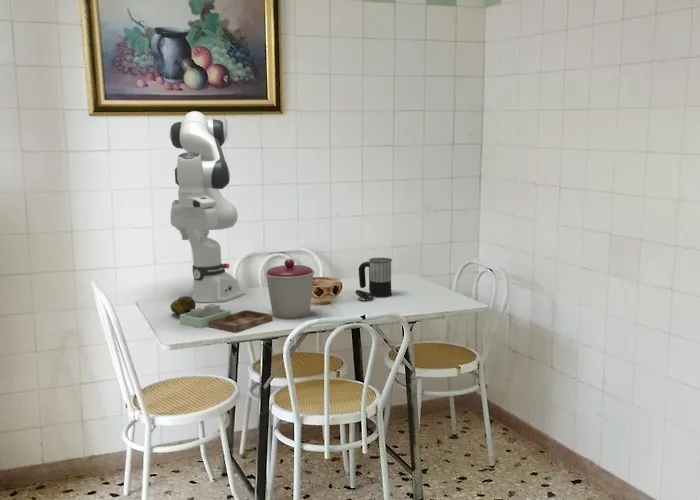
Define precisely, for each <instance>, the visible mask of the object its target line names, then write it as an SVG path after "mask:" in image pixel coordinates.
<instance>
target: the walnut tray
mask: <svg viewBox="0 0 700 500" xmlns="http://www.w3.org/2000/svg"><path fill="white" fill-rule="evenodd" d="M273 320H274V318H273V314H271V313H265V312H259V311H255V310H250V309H249V310H248V309H243V310H241V311H237V312H234V313H231V314H230V315H227V316H223V317H220V318H217V319H213V320H210V321H208V322H209V326H208V328H210V329H214V330H219V331H224V332H230V333H233V334H237V333H240V332H243V331H246V330H249V329H253V328H255V327H258V326H261V325H264V324H268V323H271V322H273Z"/></svg>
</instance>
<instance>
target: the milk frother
mask: <svg viewBox="0 0 700 500" xmlns="http://www.w3.org/2000/svg"><path fill="white" fill-rule="evenodd" d="M392 261H393V259H392V258H389V257H371V258H369V260H368V261H364V262H362V263H361V264H360V265H359V266H358V281H359V287H360V288H361V289H364V288H365V287H366V286H367V281H366V268H368V290H369V292H367V291H363V290H360V289H357V290H355V294H356V295H357V296H358V297H359V298H361V299H364V301H367V300H369V301H372V300H373V299H374V298H388V297H392V296H393V294H392Z"/></svg>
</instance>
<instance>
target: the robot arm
mask: <svg viewBox="0 0 700 500" xmlns="http://www.w3.org/2000/svg"><path fill="white" fill-rule="evenodd" d="M227 134H228V132H227V128H226V126H225V124H224V122H223V121H222V120H221V119H216V118H214V119H207V117H206V115H204V114H203V113H202V112H200V111H197V110H193V111H190V112H188V113H186V114H185V116H183V119H182V121H177V122H174V123H173V124H172V125H171V127H170V130H169V139H170V141H171V144H172V147H174V148H175V149H182V150H184V151H186V152H183V153H180V154H178V157H177V164H176V167H175V168H174V180H175V184H176V185H177V186H178V192H177V193H178V194H177V195H178V196H177V197H178V199H174V200H173V202H172V203H171V208H170V224H171V226H172V227H174V228H175V229H177V231H179V234H180V236H181V240H182V241H188V242H189V244H190V247H191V248H190V249H191V252H192V253H191V254H192V260H193V264H192V275H193V285H192V286H193V289H192V295H191V296H192V297H191V298H192V299H193V300H194V301H195V303H196V302H197V303H216V302H223V303H224V302H227V301H231V300H234V299H235V298H238V297H240V296H243V295H246V292H245V290H243V289H240V286H239V281H238V279H236V278H235V277H234V276H232V275H231V274H230V273H228V272H226V269H227V270H228V269H229V268H230V264H229V263H225V262H224V263H223V262H222V249H221V245H220V242H218V241H217V240H215V239H212V238H210V237H208V236H209V233H210V231H218V230H219V231H220V230H221V231H222V230H225V229H229V228H233V227H234V226H235V225H236V223H237V221H238V217H239V215H238V210H237V208H236V207H235V205H234V204H233V203H231V202H230V201H228V200H227V199H226V198H225V197H224V196H223V195H222V193H221V191H220V190H223V189H225V188H226V187H227V186H228V185H229V184H230V181H231V171H230V168H229V166H228V163H227V161H226V158H225V156H224V152H223V149H222V146H223V145H224V144H225V142H226V139H227Z"/></svg>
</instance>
